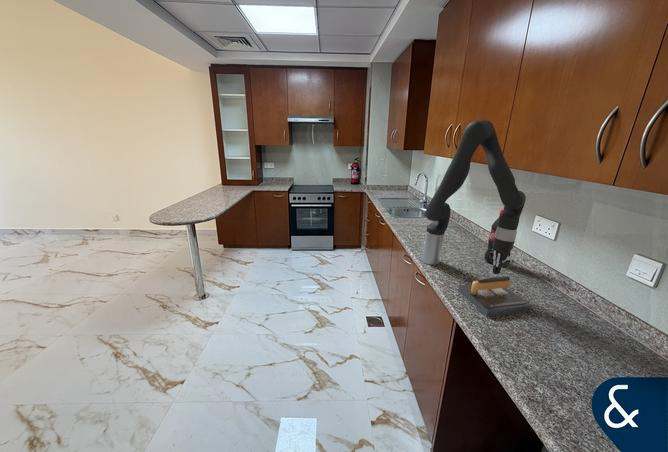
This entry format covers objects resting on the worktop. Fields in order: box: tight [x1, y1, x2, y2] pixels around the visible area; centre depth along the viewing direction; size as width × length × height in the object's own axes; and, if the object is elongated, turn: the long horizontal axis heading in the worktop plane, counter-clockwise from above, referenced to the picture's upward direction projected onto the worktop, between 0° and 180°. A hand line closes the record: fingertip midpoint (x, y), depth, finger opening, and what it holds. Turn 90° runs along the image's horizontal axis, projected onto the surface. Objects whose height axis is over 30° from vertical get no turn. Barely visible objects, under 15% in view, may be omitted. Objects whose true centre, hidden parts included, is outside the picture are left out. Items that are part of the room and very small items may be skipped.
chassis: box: [457, 283, 532, 318], centre depth 116 cm, size 18×20×3 cm
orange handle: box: [470, 275, 513, 295], centre depth 116 cm, size 3×18×7 cm, turn 101°
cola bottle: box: [483, 209, 504, 265], centre depth 147 cm, size 8×8×30 cm
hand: (495, 273), depth 122 cm, fingers closed
